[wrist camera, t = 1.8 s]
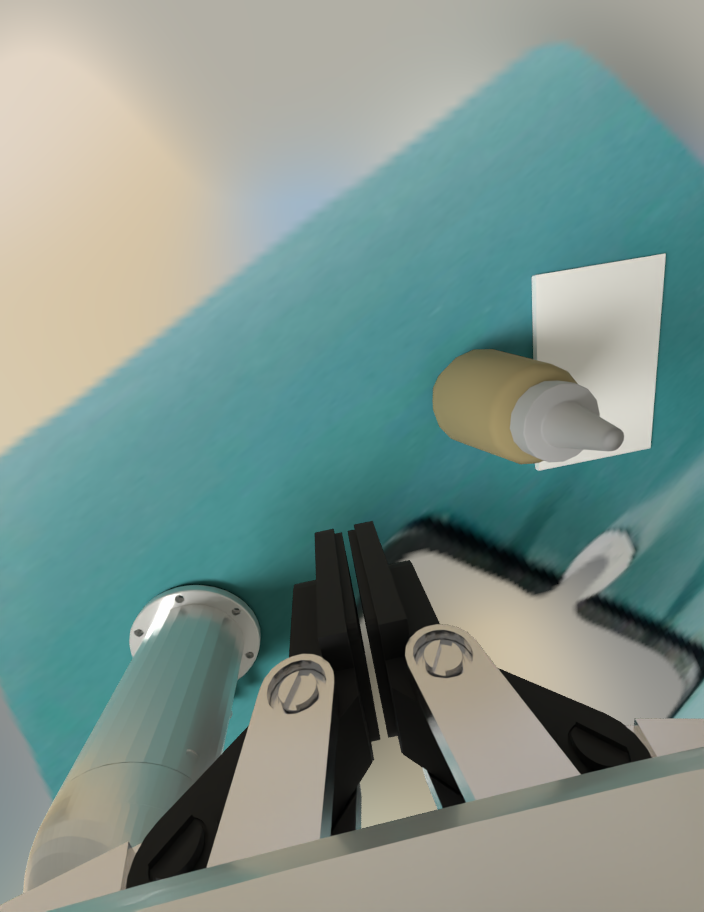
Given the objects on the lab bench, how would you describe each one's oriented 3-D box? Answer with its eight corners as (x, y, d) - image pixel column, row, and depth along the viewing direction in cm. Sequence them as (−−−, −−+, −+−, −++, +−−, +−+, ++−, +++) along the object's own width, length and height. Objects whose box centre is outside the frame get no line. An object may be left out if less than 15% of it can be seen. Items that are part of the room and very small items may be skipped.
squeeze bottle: (413, 359, 33) (525, 374, 16) (499, 339, 34) (697, 332, 17) (427, 444, 36) (537, 534, 19) (507, 424, 36) (687, 495, 19)
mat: (645, 446, 39) (650, 448, 38) (535, 468, 38) (538, 470, 37) (659, 254, 33) (665, 253, 33) (531, 276, 33) (535, 275, 32)
